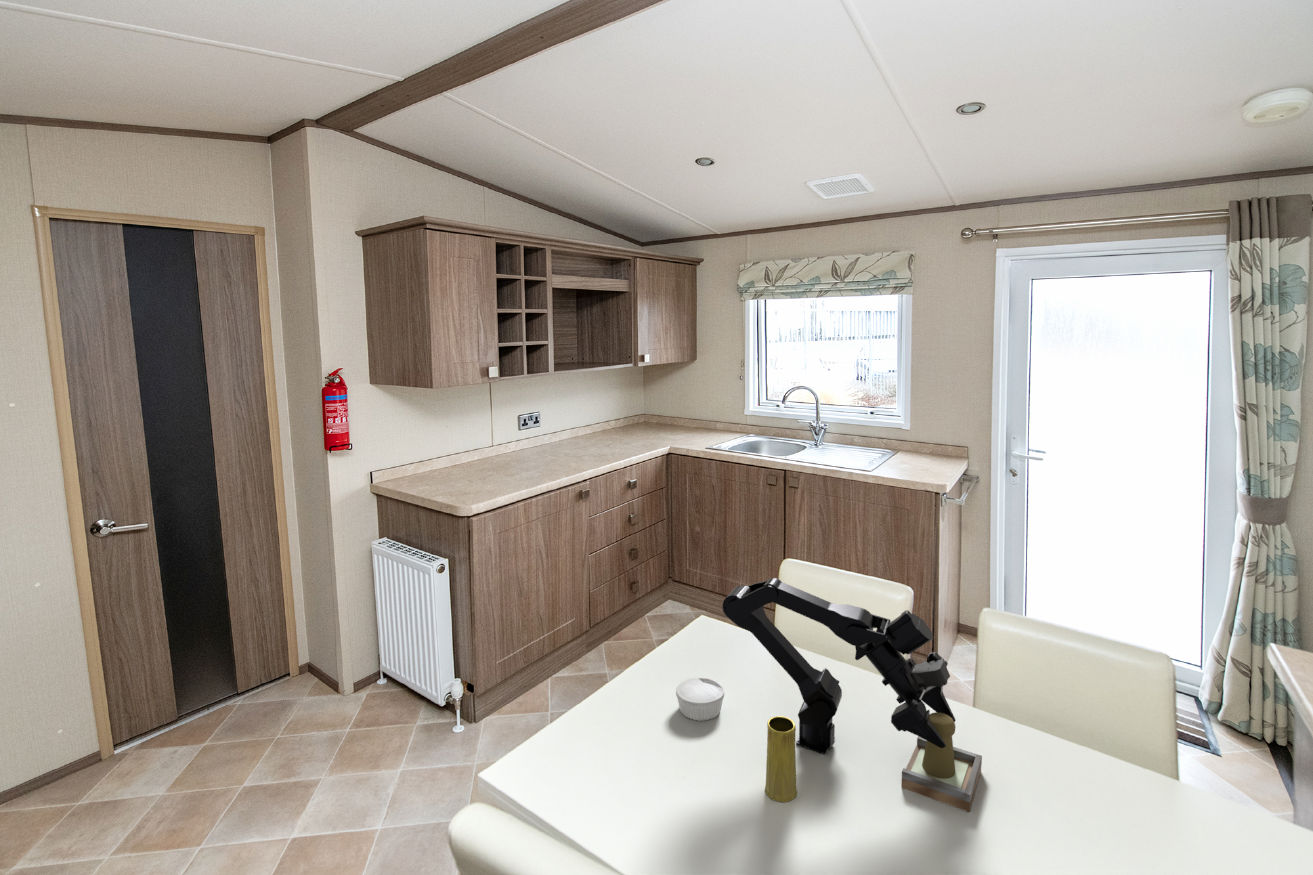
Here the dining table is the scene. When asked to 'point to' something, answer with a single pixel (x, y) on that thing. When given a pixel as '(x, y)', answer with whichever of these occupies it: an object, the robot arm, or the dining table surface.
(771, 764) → the vase
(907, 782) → the wooden tray
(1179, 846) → the dining table surface
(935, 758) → the olive domed stopper
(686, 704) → the ramekin
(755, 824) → the dining table surface
